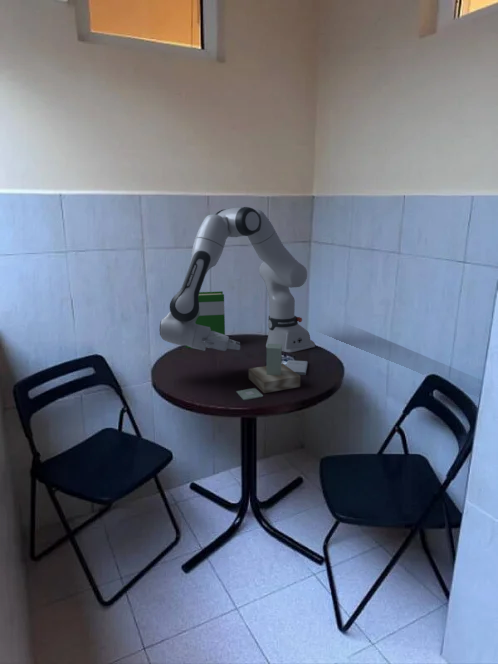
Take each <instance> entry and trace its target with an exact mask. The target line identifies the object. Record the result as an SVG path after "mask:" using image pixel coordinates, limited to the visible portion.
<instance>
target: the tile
mask: <svg viewBox="0 0 498 664" xmlns="http://www.w3.org/2000/svg"><path fill="white" fill-rule="evenodd" d="M235 392H236V393H237V394H238V396H239V397H240V398H241V399H242V400H243V401H248V400H252V399H253V400H254V399H258V398H263V397H264V395H263V394H262V393H261V392H260V391H259V390H258V389H257V388H256V387H253V388H247V389H243V390H242V389H241V390H236V391H235Z"/></svg>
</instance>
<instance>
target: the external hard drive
mask: <svg viewBox="0 0 498 664" xmlns="http://www.w3.org/2000/svg"><path fill="white" fill-rule="evenodd" d="M308 362H309V361H307V360H290V359H288V360H287V362H286V364H285V365H286V366H287V367H288V368H290V369H291V370H293V371H294V372H295V373H297V374H298V375H299V376H306V374H307V369H308V364H309V363H308Z"/></svg>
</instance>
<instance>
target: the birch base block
mask: <svg viewBox="0 0 498 664" xmlns="http://www.w3.org/2000/svg"><path fill="white" fill-rule="evenodd" d="M248 380H249V381H251V383H253V385H255V386H256V387H257V388H258V389H259V390H260V391H261V392H262V393H263V394H266V393H267V394H268V393H273V392H274V393H275V392H278V391H283V390H289V389H296V388H300V387H301V375H298V374H297V373H295V372H294V371H293V370H291V369H290V368H288V367H287V366H286V364H284V363H282V362H281V375H266V365H264V366H263V365H262V366H257V367H251V368H248Z"/></svg>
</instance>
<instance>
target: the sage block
mask: <svg viewBox="0 0 498 664" xmlns="http://www.w3.org/2000/svg"><path fill="white" fill-rule="evenodd" d="M282 353H283V351H282V344H268V345H267V347H266V365H265V366H266V375H281V364H282V357H283V356H282Z"/></svg>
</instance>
